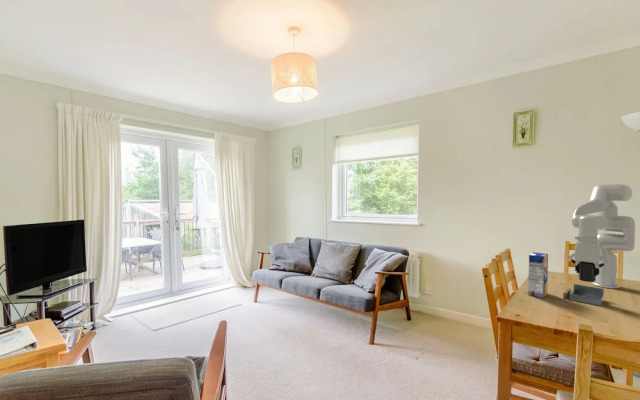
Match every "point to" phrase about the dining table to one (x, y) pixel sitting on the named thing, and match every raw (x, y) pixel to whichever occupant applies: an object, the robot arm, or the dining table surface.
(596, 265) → the robot arm
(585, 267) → the supplement bottle
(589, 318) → the dining table surface
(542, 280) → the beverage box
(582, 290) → the keeper
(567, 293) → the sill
